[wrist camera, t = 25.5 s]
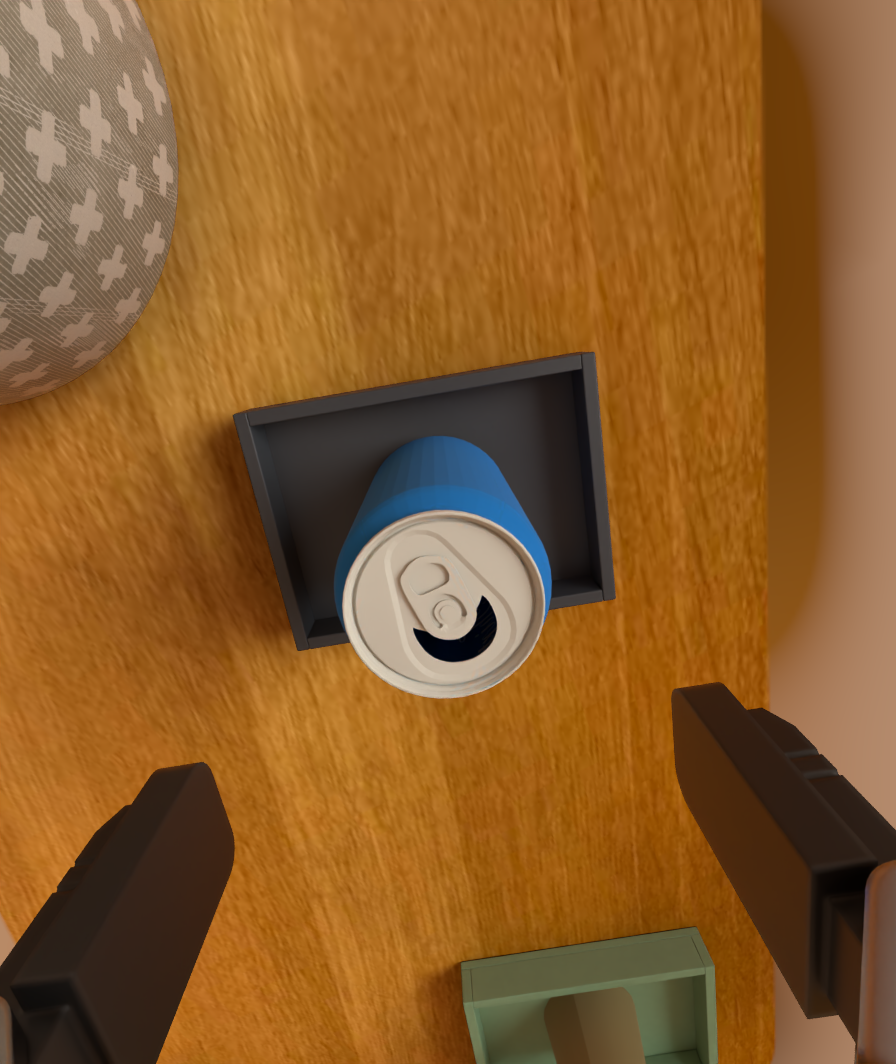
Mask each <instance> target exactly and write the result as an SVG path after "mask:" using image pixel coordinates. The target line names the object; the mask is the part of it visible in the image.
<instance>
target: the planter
mask: <svg viewBox="0 0 896 1064" xmlns="http://www.w3.org/2000/svg"><path fill="white" fill-rule="evenodd" d="M177 198H178V155H177V140H176V132H175V126H174V119H173V113H172V106H171V102H170V98H169V94H168V90H167V85H166V81H165V77H164V73H163V70H162V67H161V64H160V61H159V58H158V55H157V52H156V49H155V46H154V43H153V40H152V38H151V35H150V33H149V30H148V28H147V25H146V23H145V21H144V18H143V16H142V13H141V11H140V9H139V7H138V5H137V3H136V1H135V0H0V405H4V404H11V403H15V402H19V401H23V400H27V399H30V398H34V397H37V396H39V395H42V394H45V393H47V392H50V391H53V390H55V389H57V388H59V387H61V386H63V385H65V384H67V383H68V382H70V381H72V380H74V379H76V378H77V377H79V376H80V375H82V374H83V373H85V372H86V371H88V370H89V369H91V368H92V367H94V366H95V365H96V364H97V363H98V362H100V361H101V360H102V359H103V358H104V357H105V356H107V355H108V354H109V353H110V352H111V351H112V350H113V349H114V348H115V347H116V346H117V345H118V344H119V343H120V341H121V340H122V339H123V338H124V337H125V336H126V335H127V333H128V332H129V331H130V329H131V328H132V327H133V325H134V324H135V323H136V321H137V320H138V318H139V317H140V315H141V314H142V312H143V310H144V308H145V307H146V305H147V303H148V302H149V300H150V298H151V296H152V294H153V292H154V290H155V287H156V285H157V283H158V280H159V278H160V276H161V273H162V270H163V267H164V264H165V261H166V258H167V255H168V252H169V248H170V243H171V238H172V233H173V229H174V224H175V216H176V207H177Z"/></svg>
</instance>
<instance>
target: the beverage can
mask: <svg viewBox="0 0 896 1064" xmlns="http://www.w3.org/2000/svg"><path fill="white" fill-rule="evenodd" d="M551 587H552V580H551V569H550V565H549V561H548V556H547V554H546V551H545V549H544V546H543V544H542V542H541V540H540V538H539V537H538V535H537V533H536V531H535V530H534V528H533V526H532V525H531V523H530V521H529V519H528V518H527V516H526V514H525V513H524V511H523V509H522V507H521V506H520V504H519V502H518V501H517V499H516V497H515V495H514V494H513V492H512V490H511V489H510V487H509V485H508V483H507V482H506V480H505V478H504V476H503V475H502V473H501V471H500V470H499V468H498V466H497V465H496V464H495V462H494V461H493V460H492V459H491V458H490V457H489V456H488V455H487V454H486V453H485V452H484V451H482V450H481V449H480V448H478V447H477V446H475V445H473V444H471V443H469V442H467V441H464V440H462V439H458V438H454V437H448V436H430V437H423V438H420V439H416V440H413V441H411V442H409V443H407V444H405V445H403V446H401V447H400V448H398V449H397V450H395V451H394V452H393V453H392V454H391V455H390V456H389V457H388V458H387V459H386V460H385V461H384V462H383V463H382V465H381V466H380V468H379V469H378V471H377V473H376V475H375V476H374V479H373V481H372V483H371V485H370V487H369V490H368V492H367V494H366V496H365V498H364V501H363V503H362V505H361V507H360V509H359V511H358V514H357V516H356V518H355V520H354V522H353V525H352V527H351V529H350V531H349V533H348V536H347V538H346V540H345V542H344V544H343V546H342V549H341V552H340V554H339V557H338V560H337V565H336V569H335V575H334V597H335V603H336V608H337V613H338V616H339V619H340V621H341V624H342V627H343V628H344V630H345V632H346V634H347V636H348V638H349V640H350V642H351V644H352V646H353V648H354V650H355V652H356V653H357V655H358V656H359V657H360V659H361V660H362V661H363V663H364V664H365V665H366V666H367V667H368V668H369V669H370V670H371V671H372V672H373V673H375V674H376V675H377V676H378V677H379V678H381V679H382V680H384V681H385V682H387V683H388V684H390V685H392V686H394V687H396V688H398V689H400V690H402V691H405V692H408V693H411V694H414V695H419V696H423V697H430V698H456V697H464V696H468V695H472V694H476V693H479V692H481V691H484V690H486V689H489V688H491V687H493V686H495V685H496V684H498V683H500V682H501V681H503V680H504V679H506V678H507V677H509V676H510V675H511V674H512V673H513V672H514V671H516V670H517V669H518V668H519V667H520V666H521V665H522V663H523V662H524V661H525V660H526V659H527V657H528V656H529V654H530V653H531V651H532V650H533V648H534V646H535V644H536V642H537V640H538V638H539V635H540V632H541V629H542V626H543V624H544V622H545V619H546V616H547V613H548V610H549V605H550V599H551Z"/></svg>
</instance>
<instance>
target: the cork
mask: <svg viewBox="0 0 896 1064" xmlns="http://www.w3.org/2000/svg"><path fill="white" fill-rule="evenodd" d="M544 1021H545V1025H546V1028H547V1032H548V1035H549V1039H550V1042H551V1045H552V1049H553V1052H554V1056H555V1059H556V1063H557V1064H646V1062H645V1056H644V1051H643V1046H642V1041H641V1035H640V1030H639V1025H638V1020H637V1014H636V1009H635V1004H634V1002H633V999H632V996H631V995H630V994H629V993H628V992H627V990H626V989H625V988H624V987H617V988H610V989H603V990H597V991H590V992H583V993H577V994H570V995H563V996H557V997H551V998H550V999H549V1001H548V1003H547V1005H546V1007H545V1009H544Z"/></svg>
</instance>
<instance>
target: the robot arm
mask: <svg viewBox="0 0 896 1064" xmlns="http://www.w3.org/2000/svg"><path fill="white" fill-rule="evenodd" d="M671 703H672V720H673V737H674V753H675V767H676V773H677V778H678V782H679V785H680V788H681V791H682V794H683V797H684V799H685V801H686V803H687V805H688V807H689V809H690V811H691V813H692V814H693V816H694V818H695V820H696V822H697V823H698V825H699V827H700V829H701V830H702V832H703V834H704V836H705V838H706V839H707V841H708V843H709V845H710V846H711V848H712V850H713V852H714V854H715V855H716V857H717V859H718V861H719V862H720V864H721V866H722V868H723V870H724V871H725V873H726V875H727V877H728V878H729V880H730V882H731V884H732V886H733V887H734V889H735V891H736V893H737V894H738V896H739V898H740V900H741V902H742V903H743V905H744V907H745V909H746V910H747V912H748V914H749V916H750V918H751V919H752V921H753V923H754V925H755V926H756V928H757V930H758V932H759V934H760V935H761V937H762V939H763V941H764V943H765V944H766V946H767V948H768V950H769V951H770V953H771V955H772V957H773V959H774V960H775V962H776V964H777V965H778V967H779V969H780V971H781V973H782V974H783V976H784V978H785V980H786V982H787V983H788V985H789V987H790V988H791V990H792V992H793V994H794V996H795V998H796V999H797V1001H798V1003H799V1005H800V1006H801V1008H802V1010H803V1012H804V1013H805V1015H806V1017H807V1019H813V1018H820V1017H827V1016H834V1015H839V1017H840V1018H841V1020H842V1021H843V1023H844V1025H845V1026H846V1028H847V1030H848V1031H849V1033H850V1034H851V1036H852V1038H853V1039H854V1041H855V1043H856V1046H855V1062H854V1064H896V830H895V829H894V828H893V827H892V826H891V825H890V824H889V823H888V822H887V821H886V820H885V819H884V818H883V816H882V815H881V814H879V812H878V811H877V810H876V809H875V808H874V807H873V806H872V805H871V804H870V803H869V802H868V801H867V800H866V799H865V798H864V797H863V796H862V795H861V794H860V793H859V792H858V791H857V790H856V789H855V788H854V787H853V786H852V785H851V784H850V783H849V782H848V780H847V779H846V778H845V777H844V776H843V775H839V774H838V772H837V769H836V768H835V767H834V766H833V765H832V764H831V763H830V762H829V761H828V760H827V759H826V758H825V757H824V756H823V755H822V754H820V755H819V753H818V751H817V749H816V747H815V746H814V745H813V744H812V743H811V742H810V741H809V740H808V739H807V738H806V737H805V736H804V735H803V734H802V733H801V732H800V731H799V730H798V729H797V728H796V727H795V726H794V725H792V724H790V723H789V722H787V721H785V720H783V719H781V718H779V717H778V716H776V715H774V714H772V713H771V712H769V711H767V710H765V709H763V708H758V709H751V710H746V709H745V708H744V707H743V706H742V704H741V703H740V702H739V701H738V700H737V699H736V698H735V697H734V695H733V694H732V693H731V692H730V691H729V690H728V689H727V687H726V686H725V685H724V684H722V683H720V682H716V683H709V684H703V685H697V686H690V687H684V688H678V689H674V690H673V692H672V697H671ZM234 850H235V848H234V836H233V832H232V828H231V825H230V823H229V820H228V817H227V814H226V811H225V808H224V805H223V803H222V800H221V797H220V794H219V791H218V788H217V785H216V783H215V780H214V777H213V774H212V772H211V769H210V768H209V766H208V765H207V764H206V763H203V762H199V763H193V764H187V765H180V766H174V767H168V768H161V769H158V770H156V771H155V772H154V773H153V774H152V775H151V776H150V778H149V779H148V781H147V782H146V784H145V785H144V787H143V788H142V790H141V791H140V793H139V794H138V796H137V797H136V799H135V800H134V801H133V803H132V804H131V805H126V806H124V807H123V808H122V809H121V810H120V811H119V812H118V813H117V814H115V815H114V816H113V817H112V818H111V819H110V820H109V821H108V822H106V823H105V824H104V825H103V826H102V827H101V828H100V829H99V830H98V831H96V832H95V834H94V835H93V837H92V838H91V839H90V841H89V842H88V844H87V845H86V847H85V848H84V849H83V851H82V852H81V854H80V855H79V856H78V858H77V859H76V861H75V866H74V867H71V868H70V869H69V870H68V872H67V873H66V875H65V876H64V878H63V879H62V880H61V882H60V883H59V885H58V886H57V892H56V893H52V894H51V896H50V897H49V899H48V900H47V901H46V903H45V904H44V906H43V907H42V909H41V910H40V911H39V913H38V914H37V916H36V917H35V918H34V920H33V921H32V923H31V924H30V925H29V927H28V928H27V930H26V931H25V932H24V934H23V935H22V937H21V938H20V940H19V941H18V942H17V944H16V945H15V947H14V948H13V949H12V951H11V953H10V954H9V955H8V956H7V958H6V959H5V961H4V962H3V964H2V965H1V966H0V1064H156V1062H157V1060H158V1057H159V1054H160V1052H161V1049H162V1047H163V1044H164V1042H165V1039H166V1037H167V1034H168V1032H169V1029H170V1026H171V1024H172V1021H173V1019H174V1016H175V1014H176V1011H177V1009H178V1006H179V1004H180V1001H181V999H182V996H183V993H184V991H185V988H186V986H187V983H188V981H189V978H190V976H191V973H192V971H193V968H194V965H195V963H196V960H197V958H198V955H199V953H200V950H201V948H202V945H203V943H204V940H205V937H206V935H207V932H208V930H209V927H210V925H211V922H212V920H213V917H214V915H215V912H216V909H217V907H218V904H219V902H220V899H221V897H222V894H223V892H224V889H225V887H226V884H227V881H228V879H229V876H230V874H231V871H232V867H233V861H234Z"/></svg>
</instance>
